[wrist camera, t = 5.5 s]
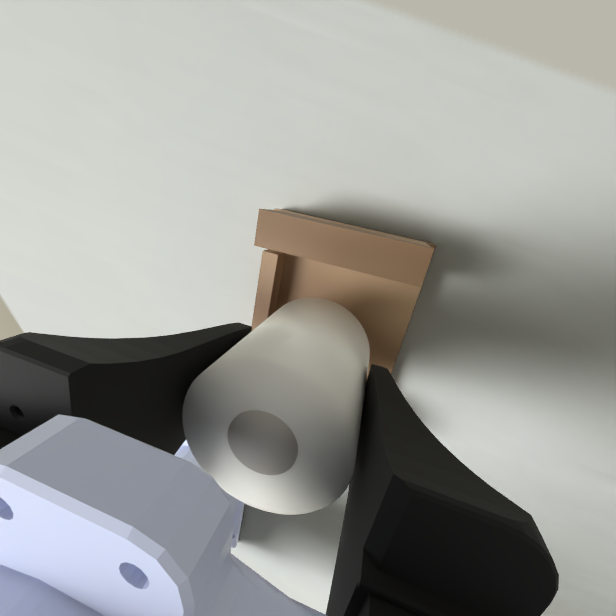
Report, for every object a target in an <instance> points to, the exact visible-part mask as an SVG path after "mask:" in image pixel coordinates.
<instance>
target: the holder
mask: <svg viewBox="0 0 616 616" xmlns="http://www.w3.org/2000/svg"><path fill="white" fill-rule="evenodd" d="M254 245H255V246H259V247H263V248H267V249H268V250H264V251H263V253H262V260H261V267H260V274H259V280H258V287H257V294H256V301H255V307H254V314H253V321H252V330H251V332H252V331H253V330H254V329H255V328H256V327H258V326H259V325H260V324H261V323H262V322H264V321H265V320H266V319H267V318H268V317H270V316H271V315H272V314H273V313H274V312H276V311H277V310H278V309H279V308H281V307H282V306H283V305H285V304H287V303H288V302H291V301H293V300H296V299H300V298H306V297H316V298H323V299H327V300H330V301H333V302H335V303H337V304H339V305H341V306H343V307H344V308H346V309H347V310H348V311H350V312H351V313H352V314H353V315H354V316H355V317H356V318H357V320H358V321H359V322H360V324H361V325H362V327H363V328H364V331H365V333H366V335H367V338H368V341H369V347H370V359H369V366H368V373H367V377H368V374H369V371H370V368H371V365H372V364H375V365H378V366H381V367H384V368H388V370H389V372H390V374H391V373H392V370H393V367H394V364H395V361H396V359H397V356H398V353H399V350H400V347H401V344H402V341H403V339H404V336H405V333H406V330H407V327H408V324H409V321H410V318H411V316H412V313H413V310H414V307H415V304H416V301H417V298H418V295H419V293H420V290H421V287H422V284H423V281H424V278H425V275H426V272H427V270H428V267H429V264H430V261H431V258H432V255H433V252H434V250H435V247H436V245H435V244H433V243H429V242H425V241H421V240H416V239H412V238H407V237H403V236H398V235H394V234H389V233H385V232H380V231H376V230H372V229H367V228H363V227H358V226H354V225H349V224H345V223H340V222H336V221H331V220H327V219H323V218H318V217H314V216H309V215H305V214H300V213H296V212H291V211H287V210H283V209H274V210H266V209H259V215H258V222H257V229H256V237H255V244H254Z"/></svg>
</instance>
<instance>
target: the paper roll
mask: <svg viewBox="0 0 616 616" xmlns="http://www.w3.org/2000/svg"><path fill="white" fill-rule="evenodd" d="M369 359H370V347H369V341H368V338H367V335H366V333H365V331H364V328H363V327H362V325H361V324H360V322H359V321H358V320H357V318H356V317H355V316H354V315H353V314H352V313H351V312H350V311H348V310H347V309H346V308H344V307H343V306H341V305H339V304H337V303H335V302H333V301H330V300H327V299H323V298H316V297H306V298H300V299H296V300H293V301H291V302H288V303H287V304H285V305H283V306H282V307H281V308H279V309H278V310H277V311H276V312H274V313H273V314H272V315H271V316H270V317H268V318H267V319H266V320H265V321H264V322H262V323H261V324H260V325H259V326H258V327H256V328H255V329H254V330H253V331H252V332H250V333H249V334H248V335H247V336H245V337H244V338H243V339H242V340H241V341H239V342H238V343H237V344H236V345H235V346H233V347H232V348H231V349H230V350H229V351H227V352H226V353H225V354H224V355H223V356H221V357H220V358H219V359H218V360H216V361H215V362H214V363H213V364H212V365H210V366H209V367H208V368H207V369H206V370H204V371H203V372H202V373H201V374H200V375H198V377H197V378H196V379H195V380H194V381H193V382H192V384H191V386H190V387H189V389H188V391H187V394H186V396H185V399H184V404H183V412H182V420H183V428H184V433H185V437H186V440H187V443H188V445H189V448H190V450H191V452H192V454H193V456H194V457H195V459H196V461H197V462H198V464H199V465H200V466H201V468H202V469H203V470H204V471H205V472H206V473H208V474H209V475H211V476H212V477H213V478H214V479H215V480H216V482H217V483H218V485H219V486H220V487H221V488H222V489H223V490H224V491H226V492H227V493H228V494H230V495H231V496H233V497H234V498H236V499H238V500H240V501H242V502H243V503H245V504H247V505H250V506H252V507H255V508H257V509H260V510H264V511H267V512H272V513H276V514H285V515H298V514H306V513H310V512H314V511H317V510H320V509H322V508H325V507H326V506H328V505H330V504H331V503H333V502H334V501H335V500H337V499H338V498H339V497H340V496H341V495H342V494H343V492H344V491H345V490H346V488H347V487H348V485H349V483H350V481H351V479H352V476H353V473H354V468H355V461H356V454H357V446H358V439H359V432H360V424H361V417H362V410H363V403H364V395H365V388H366V381H367V373H368V366H369Z"/></svg>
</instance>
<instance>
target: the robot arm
mask: <svg viewBox="0 0 616 616" xmlns="http://www.w3.org/2000/svg"><path fill="white" fill-rule="evenodd" d="M251 330H252V327H251V326H248V325H244V324H241V323H232V324H226V325H221V326H216V327H212V328H207V329H202V330H197V331H192V332H186V333H180V334H174V335H167V336H158V337H147V338H120V339H105V338H80V337H67V336H58V335H48V334H38V333H31V332H29V333H23V334H19V335H16V336H13V337H10V338H7V339H4V340H1V341H0V616H540V615H541V614H542V613H543V612H544V611H545V609H546V608H547V607H548V606H549V605H550V603H551V602H552V600H553V598H554V596H555V594H556V593H557V591H558V582H559V574H558V572H557V569H556V567H555V564H554V561H553V559H552V557H551V555H550V553H549V550H548V548H547V546H546V544H545V542H544V540H543V538H542V536H541V534H540V532H539V530H538V528H537V526H536V524H535V522H534V520H533V518H532V516H531V515H530V514H529V513H527V512H526V511H525V510H523V509H522V508H520V507H519V506H517V505H516V504H515V503H513V502H512V501H510V500H509V499H508V498H506V497H505V496H503V495H502V494H501V493H499V492H498V491H496V490H495V489H494V488H492V487H491V486H490V485H488V484H487V483H486V482H485V481H483V480H482V479H481V478H480V477H478V476H477V475H476V474H475V473H473V472H472V471H471V470H470V469H469V468H467V467H466V466H465V465H464V464H463V463H462V462H460V461H459V460H458V459H457V458H456V457H455V456H454V455H453V454H452V453H451V452H450V451H449V450H448V449H447V448H446V447H445V446H443V445H442V444H441V443H440V441H439V440H438V439H437V438H436V437H435V436H434V435H433V434H432V433H431V432H430V431H429V429H428V428H427V427H426V426H425V425H424V424H423V423H422V421H421V420H420V419H419V418H418V416H417V415H416V414H415V412H414V411H413V409H412V408H411V407H410V405H409V404H408V402H407V401H406V399H405V398H404V396H403V395H402V393H401V391H400V390H399V388H398V386H397V385H396V383H395V381H394V379H393V377H392V376H391V374H390V372H389V370H388V368H384V367H381V366H378V365H375V364H372V365H371V368H370V371H369V374H368V377H367V381H366V388H365V395H364V403H363V410H362V417H361V424H360V432H359V439H358V446H357V454H356V461H355V468H354V473H353V476H352V479H351V481H350V483H349V492H348V498H347V504H346V510H345V515H344V521H343V527H342V532H341V537H340V543H339V548H338V554H337V559H336V564H335V570H334V575H333V580H332V585H331V591H330V596H329V601H328V606H327V611H326V615H325V614H323V613H320V612H318V611H316V610H314V609H312V608H310V607H308V606H306V605H304V604H302V603H299V602H297V601H295V600H293V599H291V598H289V597H288V596H286V595H285V594H284V593H282V592H281V591H280V590H279V589H277V588H276V587H275V586H273V585H272V584H271V583H269V582H268V581H267V580H265V579H264V578H263V577H261V576H260V575H259V574H257V573H256V572H255V571H253V570H252V569H251V568H249V567H248V566H247V565H245V564H244V563H243V562H241V561H240V560H239V559H238V558H236V557H235V556H234V555H232V554H231V548H234V547H236V545H237V543H238V539H239V533H240V528H241V522H242V516H243V511H244V505H245V503H243V502H242V501H240V500H238V499H236V498H234V497H233V496H231V495H230V494H228V493H227V492H226V491H224V490H223V489H222V488H221V487H220V486H219V485H218V483H217V482H216V480H215V479H214V478H213V477H212V476H211V475H209V474H208V473H206V472H205V471H204V470H203V469H202V468H201V466H200V465H199V464H198V462H197V461H196V459H195V457H194V456H193V454H192V452H191V450H190V448H189V445H188V443H187V440H186V437H185V433H184V428H183V420H182V412H183V404H184V399H185V396H186V394H187V391H188V389H189V387H190V386H191V384H192V382H193V381H194V380H195V379H196V378H197V377H198V375H200V374H201V373H202V372H203V371H204V370H206V369H207V368H208V367H209V366H210V365H212V364H213V363H214V362H215V361H216V360H218V359H219V358H220V357H221V356H223V355H224V354H225V353H226V352H227V351H229V350H230V349H231V348H232V347H233V346H235V345H236V344H237V343H238V342H239V341H241V340H242V339H243V338H244V337H245V336H247V335H248V334H249V333H250V332H251Z"/></svg>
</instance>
